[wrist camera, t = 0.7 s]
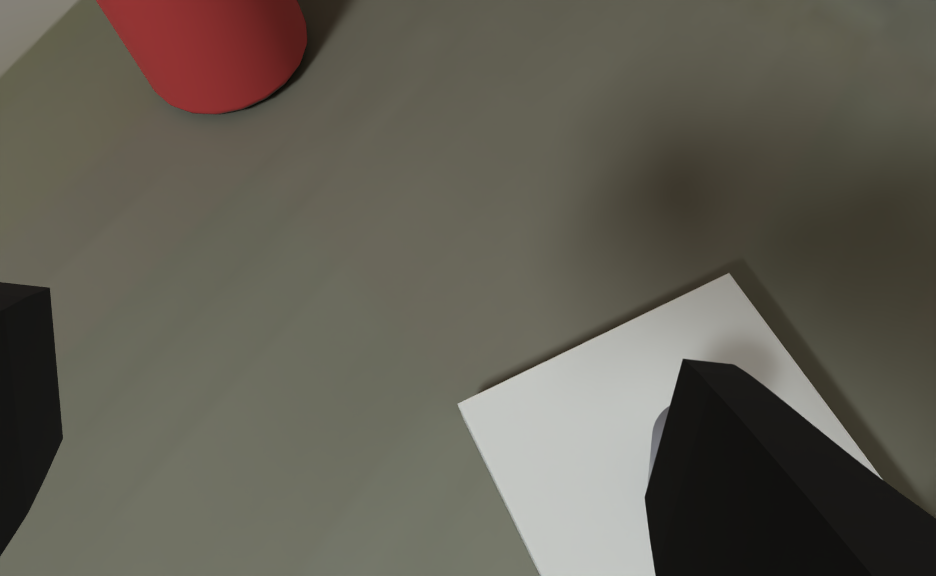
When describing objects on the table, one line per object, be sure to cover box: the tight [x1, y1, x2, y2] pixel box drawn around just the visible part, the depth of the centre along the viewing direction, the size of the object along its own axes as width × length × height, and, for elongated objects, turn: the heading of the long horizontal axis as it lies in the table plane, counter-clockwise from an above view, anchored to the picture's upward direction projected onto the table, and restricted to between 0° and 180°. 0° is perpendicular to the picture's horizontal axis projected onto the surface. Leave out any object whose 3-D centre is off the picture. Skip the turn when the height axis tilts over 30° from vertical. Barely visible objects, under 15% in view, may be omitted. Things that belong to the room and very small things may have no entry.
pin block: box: [458, 273, 883, 576], centre depth 23 cm, size 10×9×5 cm
